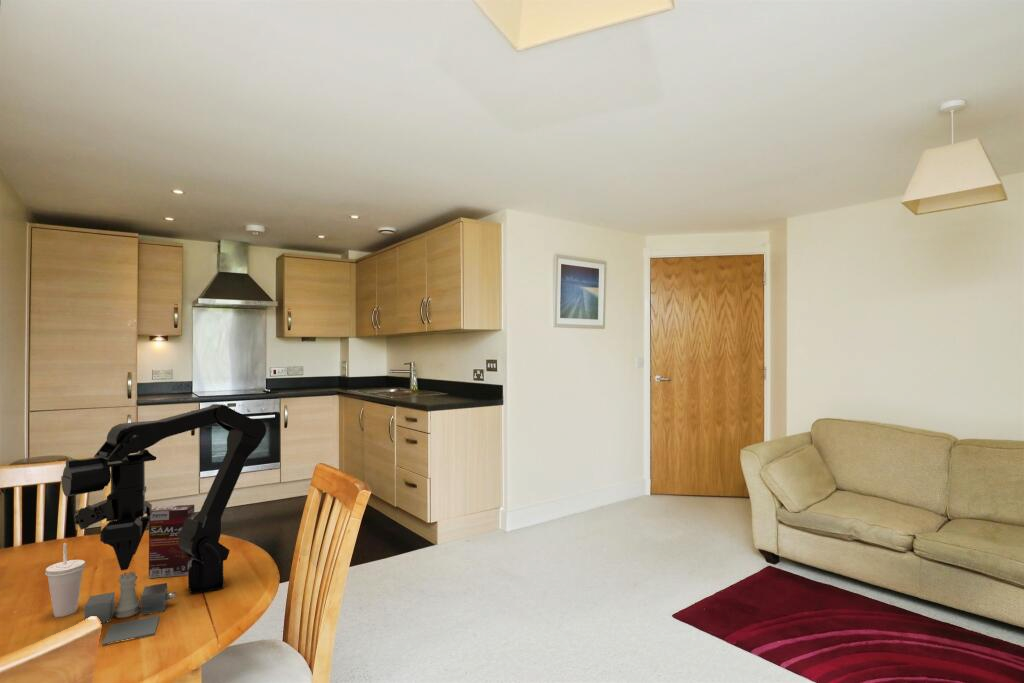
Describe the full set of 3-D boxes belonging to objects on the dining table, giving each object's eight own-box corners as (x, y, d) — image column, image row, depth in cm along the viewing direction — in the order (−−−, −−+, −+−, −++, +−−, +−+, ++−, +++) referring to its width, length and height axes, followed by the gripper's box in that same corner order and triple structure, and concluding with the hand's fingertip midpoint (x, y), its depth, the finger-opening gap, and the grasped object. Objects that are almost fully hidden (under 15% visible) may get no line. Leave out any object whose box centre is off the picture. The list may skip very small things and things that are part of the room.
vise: (176, 600, 117) (176, 581, 117) (173, 609, 113) (173, 589, 113) (90, 616, 110) (90, 596, 111) (84, 626, 106) (84, 606, 106)
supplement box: (147, 579, 129) (147, 511, 129) (156, 571, 133) (156, 506, 134) (187, 575, 130) (187, 509, 131) (195, 568, 135) (195, 503, 135)
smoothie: (80, 602, 117) (80, 536, 117) (89, 611, 113) (89, 542, 113) (41, 614, 112) (41, 545, 112) (49, 623, 108) (49, 551, 108)
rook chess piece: (146, 608, 114) (145, 569, 114) (131, 618, 109) (131, 578, 109) (124, 609, 113) (124, 570, 114) (108, 619, 109) (108, 579, 109)
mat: (159, 617, 109) (159, 615, 110) (154, 635, 102) (154, 632, 102) (110, 626, 106) (110, 624, 106) (102, 646, 99) (102, 643, 99)
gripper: (89, 481, 116) (90, 554, 116) (66, 501, 100) (66, 587, 100) (151, 474, 122) (152, 545, 121) (139, 493, 105) (139, 575, 105)
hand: (128, 562), depth 112 cm, fingers open, 9 cm apart
